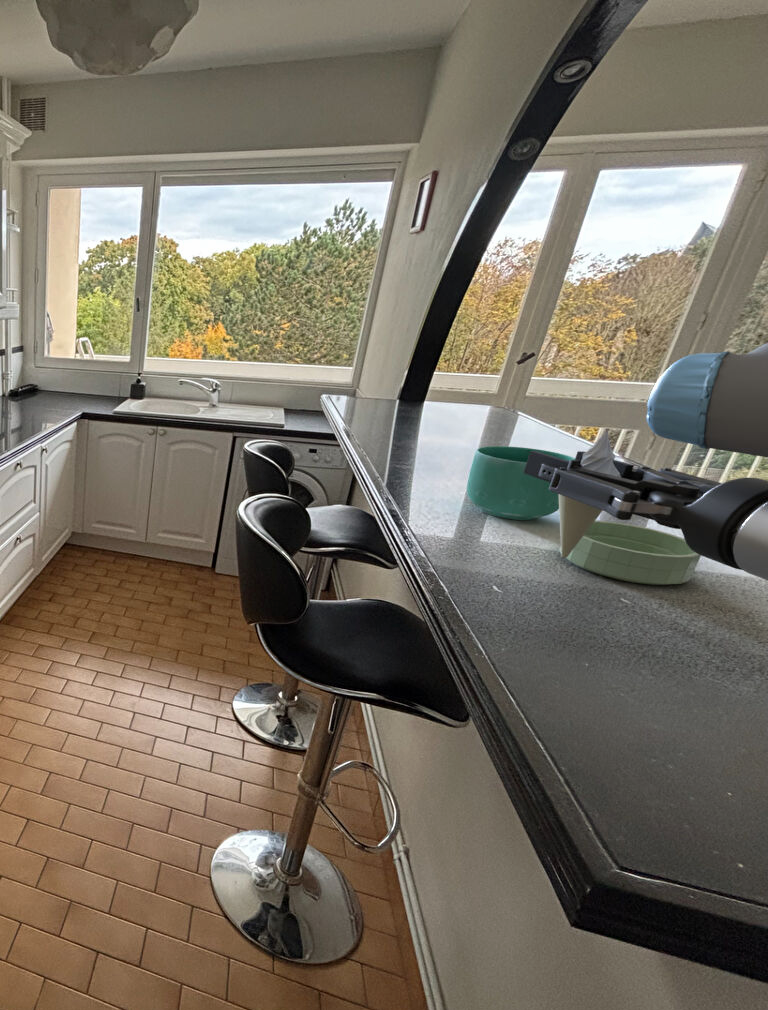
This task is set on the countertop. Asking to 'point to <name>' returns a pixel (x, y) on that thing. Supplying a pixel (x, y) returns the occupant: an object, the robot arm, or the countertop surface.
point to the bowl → (634, 554)
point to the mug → (510, 484)
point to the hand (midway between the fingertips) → (553, 462)
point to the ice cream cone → (578, 514)
